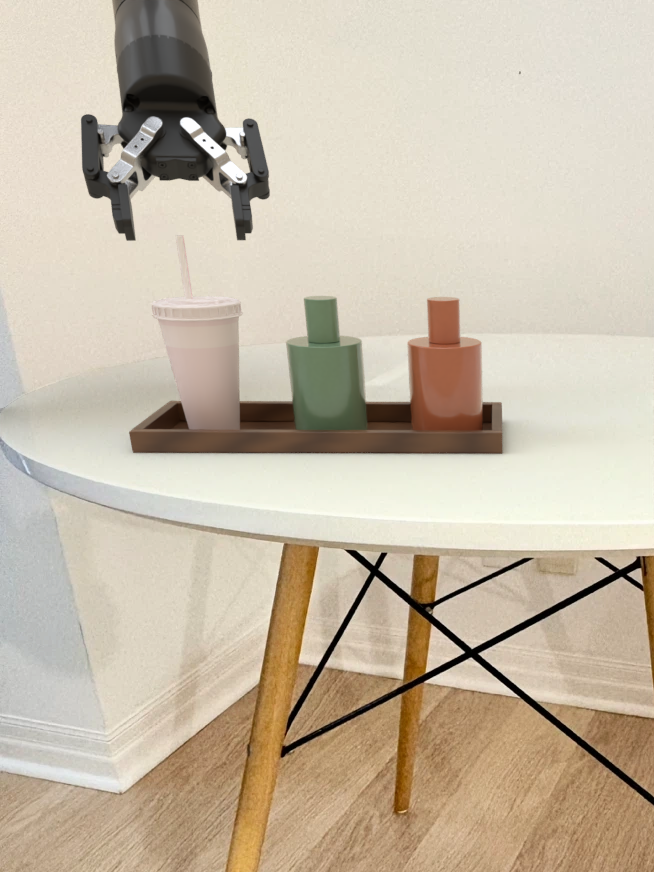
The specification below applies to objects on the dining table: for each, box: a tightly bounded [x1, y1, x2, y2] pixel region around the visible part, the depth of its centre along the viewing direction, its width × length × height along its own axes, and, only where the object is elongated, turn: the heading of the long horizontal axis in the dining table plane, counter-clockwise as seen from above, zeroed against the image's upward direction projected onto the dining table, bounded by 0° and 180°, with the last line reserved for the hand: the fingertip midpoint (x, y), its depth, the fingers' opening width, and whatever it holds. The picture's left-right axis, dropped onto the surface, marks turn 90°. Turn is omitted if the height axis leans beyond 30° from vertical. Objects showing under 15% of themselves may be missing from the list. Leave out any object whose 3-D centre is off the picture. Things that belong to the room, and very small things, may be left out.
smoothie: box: [150, 234, 244, 430], centre depth 75 cm, size 6×6×14 cm
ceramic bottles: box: [285, 295, 484, 430], centre depth 76 cm, size 15×6×10 cm, turn 92°
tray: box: [128, 400, 503, 455], centre depth 78 cm, size 27×11×2 cm, turn 92°
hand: (186, 233), depth 80 cm, fingers open, 8 cm apart
